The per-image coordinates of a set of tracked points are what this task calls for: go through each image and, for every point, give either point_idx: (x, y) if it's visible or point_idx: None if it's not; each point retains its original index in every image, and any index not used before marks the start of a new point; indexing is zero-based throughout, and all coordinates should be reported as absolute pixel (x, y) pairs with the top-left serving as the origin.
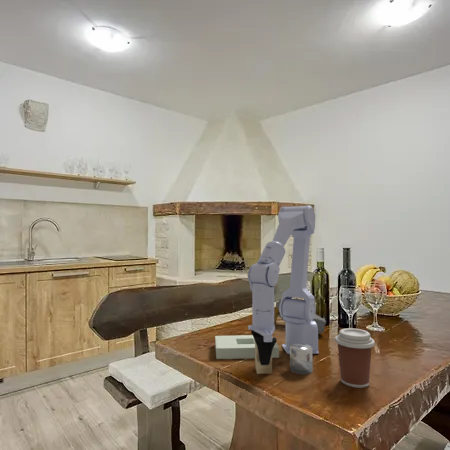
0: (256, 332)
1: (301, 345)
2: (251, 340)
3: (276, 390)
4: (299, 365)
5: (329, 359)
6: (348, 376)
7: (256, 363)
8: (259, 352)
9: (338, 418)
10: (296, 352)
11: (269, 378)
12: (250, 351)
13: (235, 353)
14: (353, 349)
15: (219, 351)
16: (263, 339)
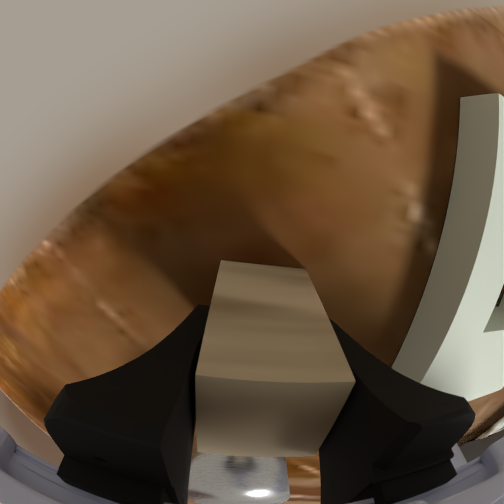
0: (395, 461)
1: (259, 501)
2: None
3: (54, 290)
4: (195, 437)
5: (301, 477)
6: None
7: (252, 285)
8: (152, 348)
9: None
10: (196, 476)
11: (158, 302)
12: (449, 290)
13: (467, 202)
14: None
15: (486, 110)
16: (65, 458)
